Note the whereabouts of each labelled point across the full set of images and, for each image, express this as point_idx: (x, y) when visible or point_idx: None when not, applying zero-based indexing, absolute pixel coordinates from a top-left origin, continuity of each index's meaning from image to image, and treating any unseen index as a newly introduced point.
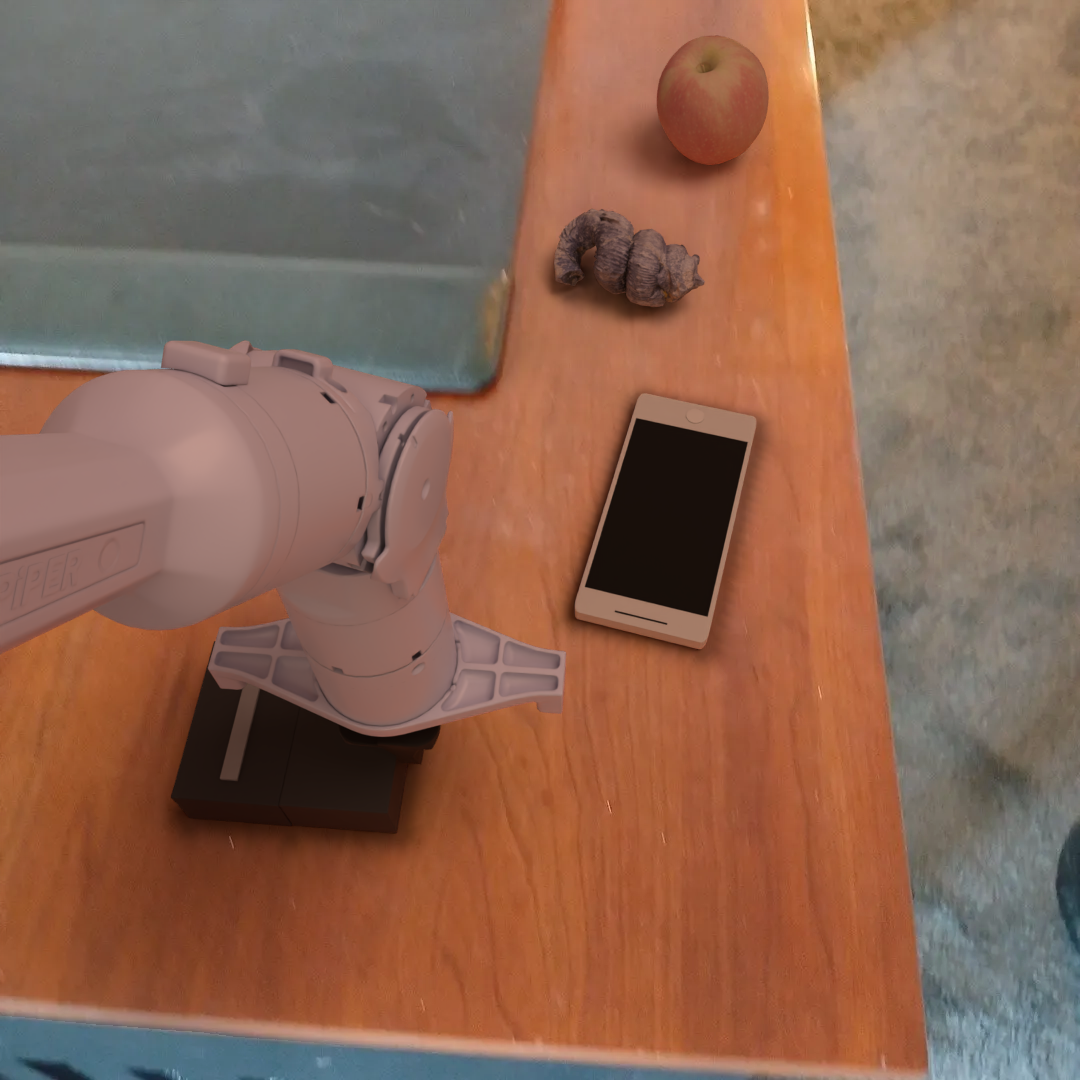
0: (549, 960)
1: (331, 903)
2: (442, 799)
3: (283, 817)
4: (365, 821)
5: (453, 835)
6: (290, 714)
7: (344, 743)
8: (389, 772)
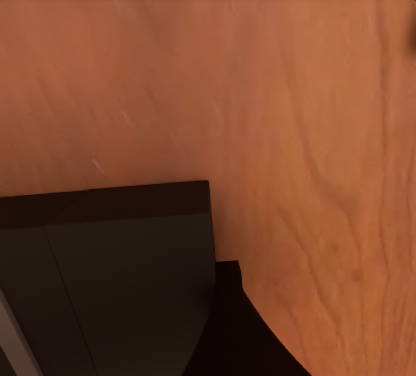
0: (351, 372)
1: None
2: (256, 290)
3: None
4: None
5: (270, 314)
6: (65, 315)
7: (150, 337)
8: None
